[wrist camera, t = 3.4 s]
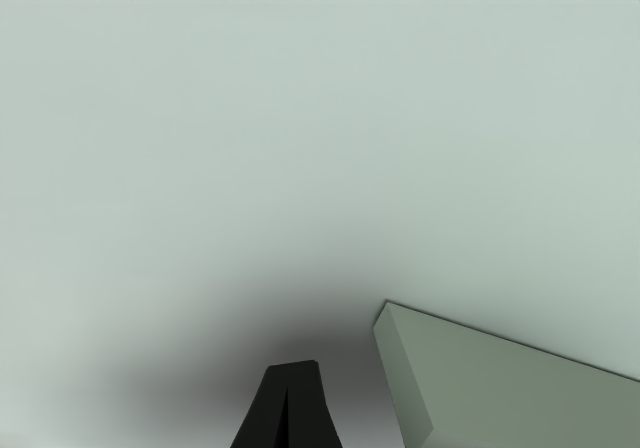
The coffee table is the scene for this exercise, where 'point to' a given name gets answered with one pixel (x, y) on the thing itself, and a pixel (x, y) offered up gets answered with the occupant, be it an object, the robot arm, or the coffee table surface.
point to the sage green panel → (497, 390)
